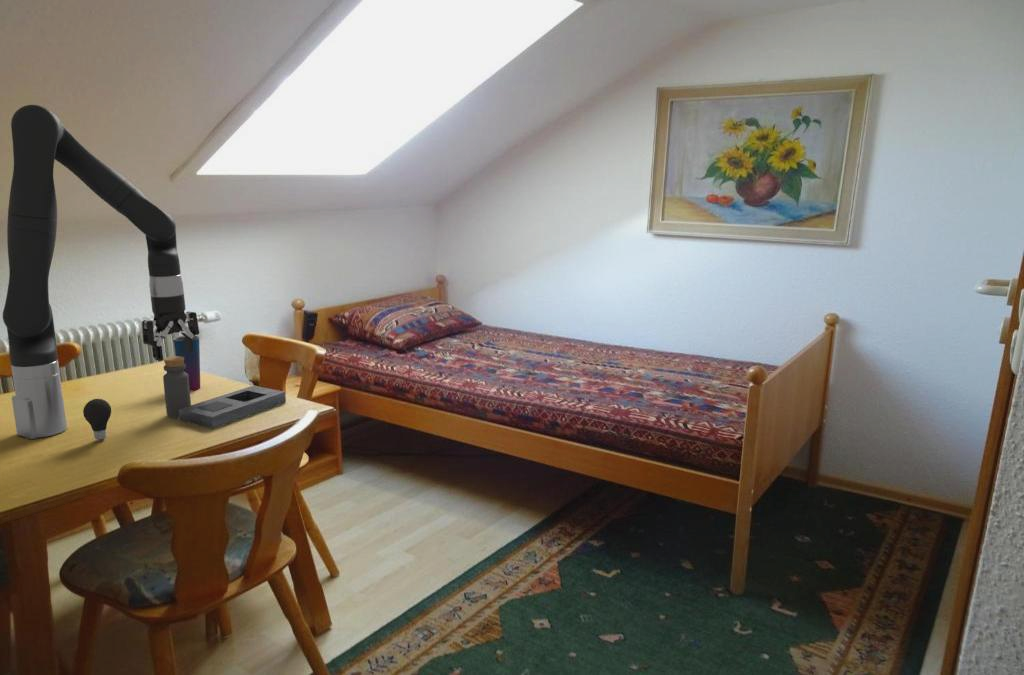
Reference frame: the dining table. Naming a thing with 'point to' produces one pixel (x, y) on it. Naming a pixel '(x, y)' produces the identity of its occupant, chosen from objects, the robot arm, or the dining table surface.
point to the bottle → (176, 386)
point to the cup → (190, 360)
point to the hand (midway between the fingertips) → (174, 356)
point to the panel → (231, 406)
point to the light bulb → (97, 416)
